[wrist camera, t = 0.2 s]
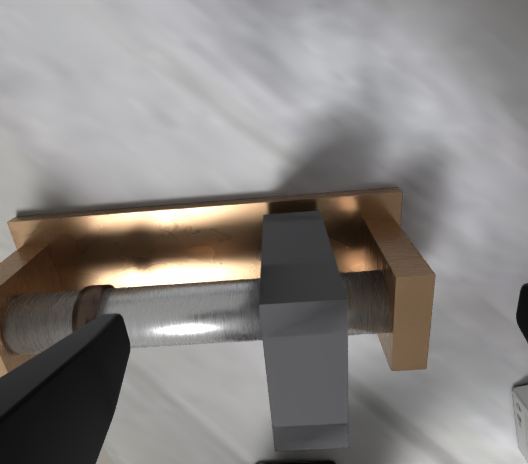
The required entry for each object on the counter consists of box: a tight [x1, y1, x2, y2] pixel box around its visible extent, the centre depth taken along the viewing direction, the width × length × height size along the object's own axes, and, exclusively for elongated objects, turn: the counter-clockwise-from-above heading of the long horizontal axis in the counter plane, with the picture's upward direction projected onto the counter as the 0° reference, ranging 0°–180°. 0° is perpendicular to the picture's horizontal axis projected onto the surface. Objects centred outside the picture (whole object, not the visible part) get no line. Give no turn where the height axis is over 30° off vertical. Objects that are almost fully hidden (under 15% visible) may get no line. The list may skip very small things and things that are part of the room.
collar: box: [259, 211, 348, 451], centre depth 19 cm, size 3×7×8 cm, turn 5°
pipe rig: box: [0, 187, 435, 377], centre depth 21 cm, size 22×8×7 cm, turn 95°
